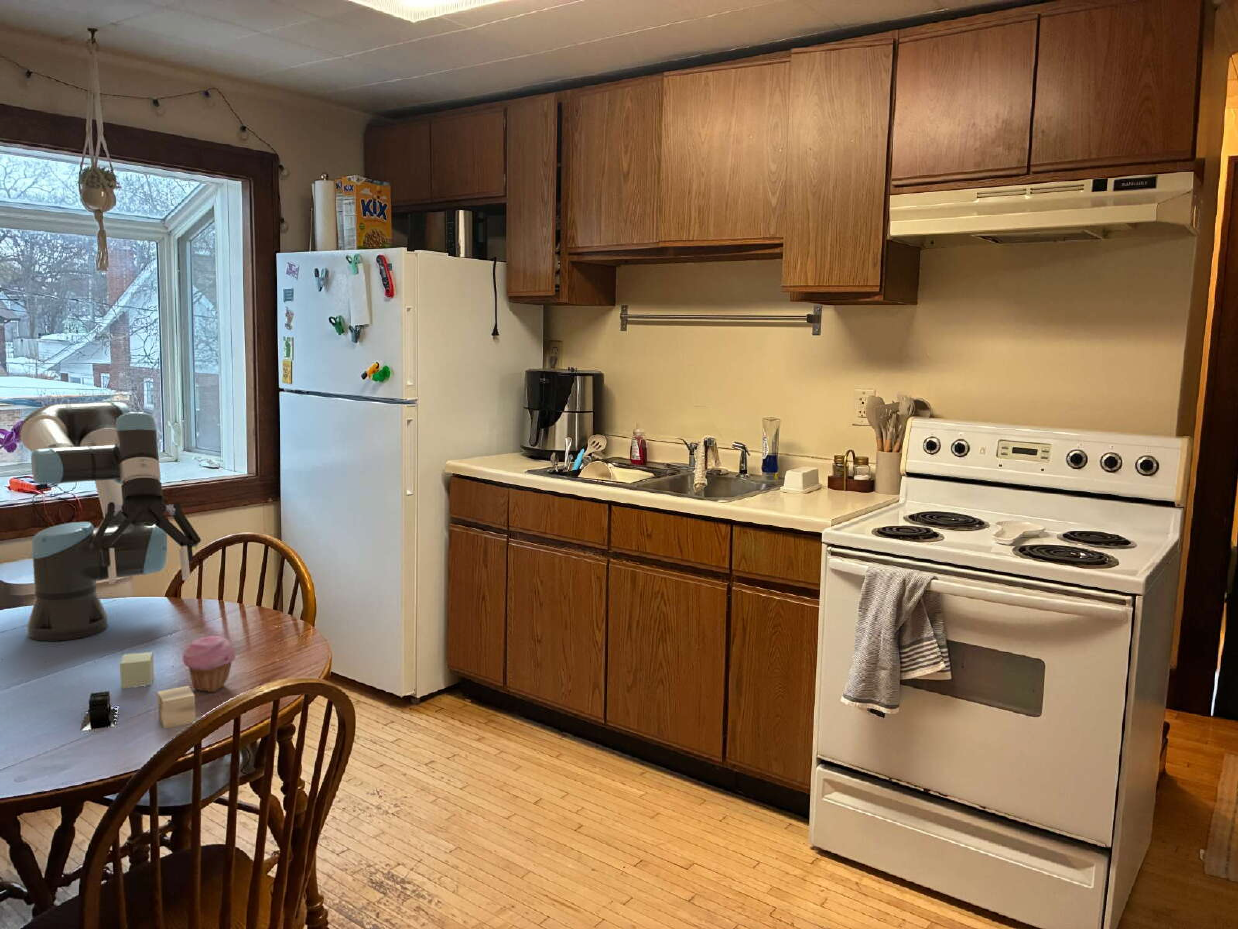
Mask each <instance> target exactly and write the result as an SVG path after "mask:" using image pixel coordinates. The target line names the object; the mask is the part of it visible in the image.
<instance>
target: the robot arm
mask: <svg viewBox="0 0 1238 929" xmlns="http://www.w3.org/2000/svg"><path fill="white" fill-rule="evenodd" d="M155 421H156V420H155V418H154V417H153V416H152V415H150V414H149V413H146V412H142V411H132V410H131V408H130V407H129V406H128V405H127V404H126V403H124V402H112V401H104V402H75V403H73V402H72V403H71V402H70V403H54V404H53V403H52V404H50V405H45V406H43V407H39V408H38V409H36V410H34V411H32V412H31V413H29V414H28V416H26V417H25V418H24V419H23V421H22V422H21V424H20V426H19V431H18V432H19V437H20V440H21V442H22V445H23V446H25V448H26V449H28V450H29V452H30V451H31V455H30V456H31V458H30V459H31V460H30V462H31V463H30V464H31V472H32V474H31V475H32V477H33V481H34V482H35V483H36V484H39V485H59V484H68V483H71V484H72V483H81V482H94V483H95V488H96V491H97V496H98V499H99V503H100V507H101V512H102V515H103V516H102V517H103V519H102V521H101V523H100V525H99V526H98V527H96V528H94V525H93V523H91V522H90V521H79V522H77V521H75V522H73V521H72V522H67V523H61V524H58V525H54V526H50V527H47V528H44V529H43V530H42V529H41V530H40V531H37V533H36V534H34V536H33V537H32V540H31V554H30V556H31V559H32V567H33V568H32V570H33V582H34V584H33V586H34V598H35V599H34V604H33V607H32V609H31V613H30V617H29V621H28V623H27V634H28V637H29V638H30V639H32V640H36V641H44V642H54V641H55V642H58V640H61V641H68V640H75V639H81V637H82V638H86V637H89V636H90V637H91V636H93V635H96V634H97V633H101V632H102V631H104V630H106V628H108V626H109V624H108V616H107V612H106V611H105V608H104V605H103V604H102V601H101V600H100V597H99V595H98V593H97V581H103V580H108V584H109V585H114V584H115V583H116V581H117V579H118V578H126V577H135V576H141V575H143V576H146V575H149V574H155V573H160V572H161V571H163V570H164V568H165V567H166V563H167V557H168V556H167V554H168V536H169V537H170V538H171V539H172V540H173V541H174V542H175V543H177V545H179V546H180V549H179V550H178V551H179V558H180V569H181V576H182V581H187V580H188V579H189V578H190V576H191V571H190V570H191V569H190V564H191V563H192V562H193V560H194V555H193V548H194V547H197V546H198V545H199V543H201V540H202V539H201V538H200V536H199V534H198V533H197V532H196V530H195V529H194V527H193V526H192V524H191V523H190V521H189V520H188V519H187V517H186V516H185V514H184V512H183V510H182V506H181V503H180V502H177V501H176V502H174V503H173V504H165V502H164V495H163V494H164V493H163V485H162V482H161V480H162V478H161V470H160V469H161V468H160V460H159V459H160V458H159V449H158V448H159V446H158V438H157V437H158V436H157V432H158V430H157V428H156V423H155ZM165 512H168V513H169V515H170V516H172V517H173V520H174V521H175V523H176V524H177V525H178V527H179V528H180V530H179V529H178V527H177V526H175V525H174V524H173V523H172V522H171V521H170V520H169V518H168V517H167V516H166V515H165ZM95 633H96V634H95ZM92 634H93V635H92Z"/></svg>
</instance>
